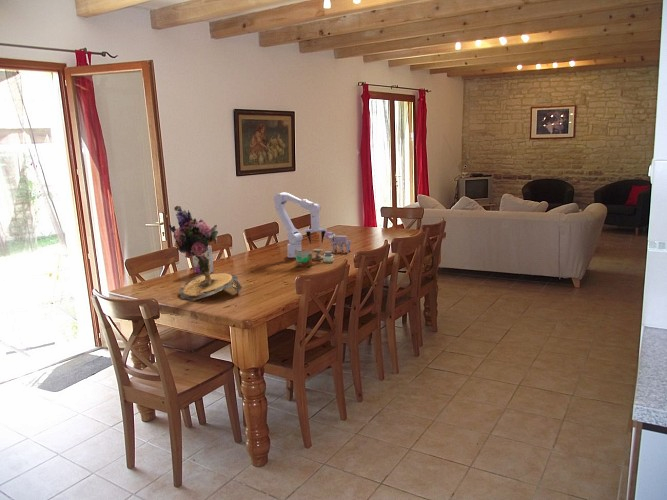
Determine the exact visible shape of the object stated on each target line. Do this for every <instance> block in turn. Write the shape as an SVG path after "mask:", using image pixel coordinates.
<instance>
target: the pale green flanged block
mask: <svg viewBox="0 0 667 500" xmlns="http://www.w3.org/2000/svg"><path fill="white" fill-rule="evenodd" d="M323 256H324V259H323V263H334V253H332V256H331V257H325V253H324V254H323Z"/></svg>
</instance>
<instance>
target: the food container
mask: <svg viewBox="0 0 667 500" xmlns="http://www.w3.org/2000/svg"><path fill="white" fill-rule="evenodd" d="M313 253H314V252H313V249H312V250H302V251H297V250H296V249H295V252H294V254H295V255H296V257H295V261H296V266H297V267H298V268H309V267H312V260H313V259H312V257H313V256H312V255H313Z"/></svg>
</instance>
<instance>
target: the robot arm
mask: <svg viewBox="0 0 667 500" xmlns="http://www.w3.org/2000/svg"><path fill="white" fill-rule="evenodd" d="M273 201H274V208H275V211H276V213H277V215H278V216H279V219H280V220H281V222H282V223H283V225H284V227H285V229H286V231H287V234H286V235H287V239H288V241H289V243H287V244H286V245H287V246H286V248H287V258H296V255H295V254H294V252H295V249H296V250H297V251H303V250H302V240H303V238H304V237H303V234H302V233H301V232H300V231H299V229H297V228H296V227H295V225H294V224H293V222H292V220H291V218H290V216H289V214H288V212H287V211H286V209H285V205H286V203H287V202H292V203H294V204H297V205H299V207H300V208H302V209H304V210H307V211H308V212H309V214H310V228H305V229H304V233H305V234H306V237H307V238H308V241H309V244H312V239H311V237H312V236H311V233H321V244H323V243H324V242H323V241H324V238H325V236H324V235H325V234H326V233H327V232H328V228H321V222H320V221H321V217H320V211H321V209H322V208H321V205H320V204H319V203H318V202H316V203H314V201H309V200H308V199H307V198H303V199H301V198H299V197H296V196H295V195H293V194H291V193H288V192H286V191H282V192H278V193H275V195H274V196H273Z"/></svg>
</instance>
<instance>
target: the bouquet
mask: <svg viewBox="0 0 667 500" xmlns="http://www.w3.org/2000/svg"><path fill="white" fill-rule="evenodd" d="M173 210H174V211H175V212H176V213H175V216H176V219H177V223H178V226H179V228H178V227H177V228H176V226H175V225H173V226H172V225H171V224H168V229H170V232H172V233H173V239H174V242H175V243H174V244H173V245H174V247H175V248H176V250H177V251H179V252H180V253H182V254H185V255H184V257H185V258H187V259H190V258H192V256H196V257H197V258H198V259H199V261H198V264H199V265H200V266H199V267H200V272H201V273H200V275H197V276H195V277H193V278H191V279H189V280H187V282H186V283H184V284H182V286H181V287H180V288H179V293H178V294H180V298H182V299H181V300H186V299H187V301H189V300H190V302H193V301H196V300H200V299H203V298H206V297H209V296H212V295H215V294H217V293H218V292H221V291H223V290H227V289H229V288H231V287H232V288H233V289H234V290H235V291H236V294H239V292H240V291H241V290H242V289H243V286H242V285H241V284H240V282H239V278H238V276H237V275H235V274H230V273H210V262H209V260H208V259H207V258H206V257H204V256H203V254H205V253H206V251H207V249H208V246H209V244H210V243H211V242H213V243H214V244H218V233H219V231H218V230H217V227H218V226H217V224H214V226H213V227H210V226H208V225H207V222H206V221H204V220H203V219H201V218H200V220H199V221H198V220H197V218H196V217H195V218H194V219H193V217H192V213H191V211H190V210H187V211H186V210H183V209H182V207H181V205H176V206H174V207H173Z"/></svg>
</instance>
